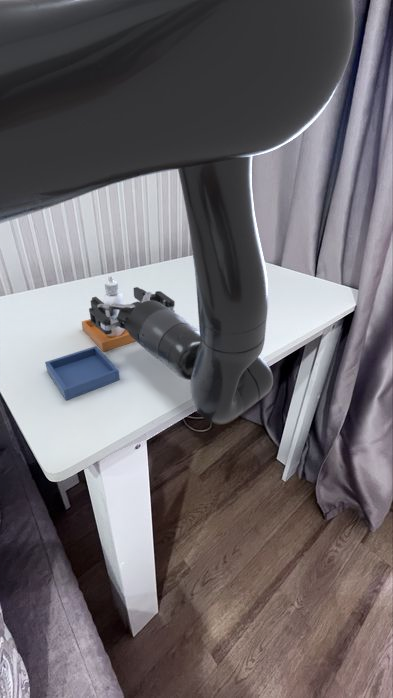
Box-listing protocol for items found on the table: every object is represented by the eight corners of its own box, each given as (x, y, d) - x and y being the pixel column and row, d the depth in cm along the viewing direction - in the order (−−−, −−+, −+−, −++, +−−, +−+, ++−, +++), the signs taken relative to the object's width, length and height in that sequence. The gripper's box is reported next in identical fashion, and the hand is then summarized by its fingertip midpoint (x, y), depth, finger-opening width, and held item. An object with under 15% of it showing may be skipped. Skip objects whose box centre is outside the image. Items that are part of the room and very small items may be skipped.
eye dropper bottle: (98, 333, 68) (90, 277, 62) (119, 323, 72) (113, 269, 65) (113, 340, 66) (106, 283, 59) (133, 329, 70) (129, 274, 63)
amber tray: (103, 351, 63) (102, 343, 62) (82, 329, 70) (81, 321, 69) (149, 336, 69) (149, 328, 68) (126, 317, 75) (125, 309, 74)
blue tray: (65, 400, 51) (63, 390, 50) (47, 371, 57) (44, 362, 56) (119, 379, 56) (118, 370, 55) (97, 354, 62) (96, 345, 61)
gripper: (197, 300, 54) (146, 270, 65) (118, 323, 47) (75, 285, 57) (195, 339, 58) (148, 305, 69) (122, 366, 51) (81, 323, 61)
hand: (115, 296), depth 63 cm, fingers open, 8 cm apart
